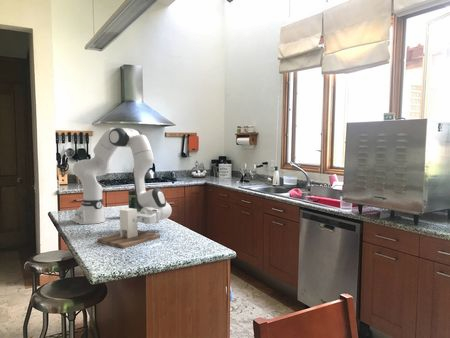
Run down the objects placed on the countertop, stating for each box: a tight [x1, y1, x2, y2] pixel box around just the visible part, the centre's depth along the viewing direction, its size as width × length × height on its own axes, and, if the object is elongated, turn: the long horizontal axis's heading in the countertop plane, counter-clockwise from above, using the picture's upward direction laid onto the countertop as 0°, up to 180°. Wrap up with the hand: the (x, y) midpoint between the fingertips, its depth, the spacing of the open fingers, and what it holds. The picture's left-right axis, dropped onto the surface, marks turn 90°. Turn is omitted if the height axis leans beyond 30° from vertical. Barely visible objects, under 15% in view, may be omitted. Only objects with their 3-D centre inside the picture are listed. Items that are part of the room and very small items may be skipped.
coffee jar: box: [127, 188, 141, 212], centre depth 243 cm, size 10×8×19 cm
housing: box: [119, 207, 139, 238], centre depth 188 cm, size 6×6×14 cm
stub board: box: [96, 229, 161, 249], centre depth 189 cm, size 20×24×4 cm
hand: (127, 219), depth 187 cm, fingers open, 7 cm apart
